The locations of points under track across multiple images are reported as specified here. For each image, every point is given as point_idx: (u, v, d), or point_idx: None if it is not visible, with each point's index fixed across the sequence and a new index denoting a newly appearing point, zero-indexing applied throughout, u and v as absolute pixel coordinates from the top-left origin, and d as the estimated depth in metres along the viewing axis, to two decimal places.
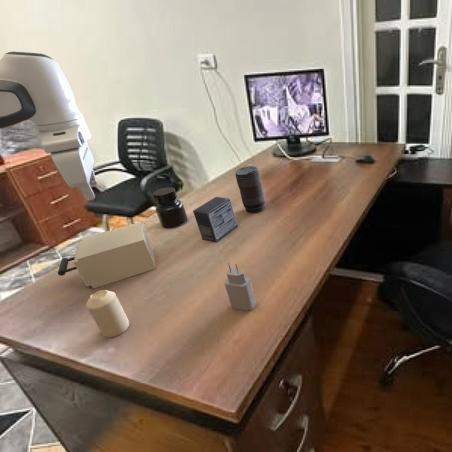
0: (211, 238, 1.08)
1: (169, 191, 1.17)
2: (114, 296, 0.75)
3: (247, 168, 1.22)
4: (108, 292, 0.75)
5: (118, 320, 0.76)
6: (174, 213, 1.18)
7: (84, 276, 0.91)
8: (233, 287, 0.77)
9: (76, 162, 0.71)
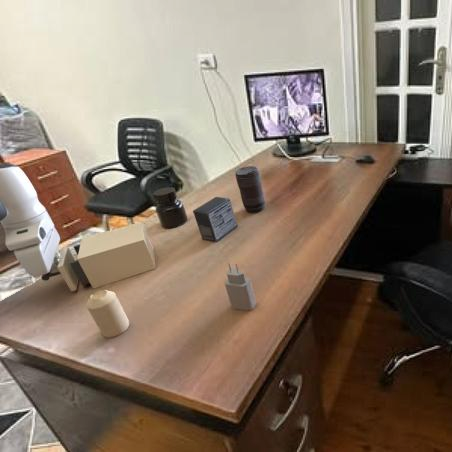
0: (211, 238, 1.08)
1: (169, 191, 1.17)
2: (114, 296, 0.75)
3: (247, 168, 1.22)
4: (108, 292, 0.75)
5: (118, 320, 0.76)
6: (174, 213, 1.18)
7: (68, 281, 0.90)
8: (233, 287, 0.77)
9: (37, 256, 0.81)
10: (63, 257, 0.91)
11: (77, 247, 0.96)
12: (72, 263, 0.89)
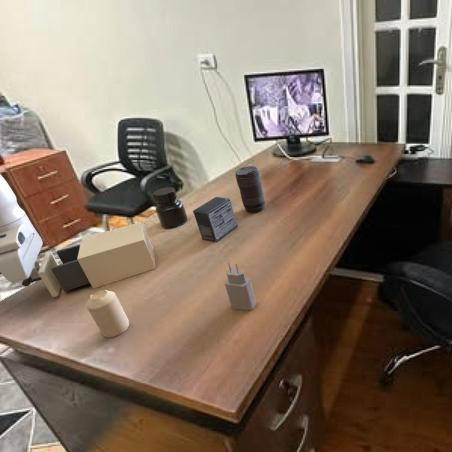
0: (211, 238, 1.08)
1: (169, 191, 1.17)
2: (114, 296, 0.75)
3: (247, 168, 1.22)
4: (108, 292, 0.75)
5: (118, 320, 0.76)
6: (174, 213, 1.18)
7: (49, 287, 0.88)
8: (233, 287, 0.77)
9: (15, 262, 0.79)
10: (44, 262, 0.90)
11: (60, 252, 0.95)
12: (53, 269, 0.88)
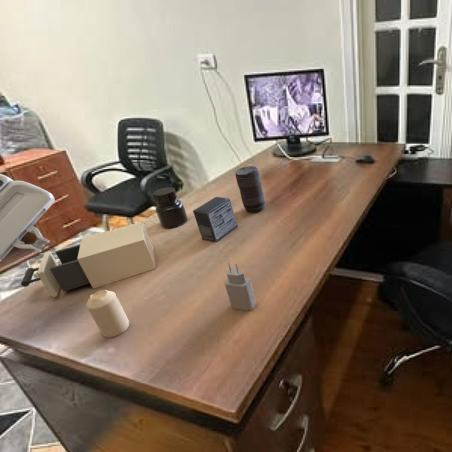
0: (211, 238, 1.08)
1: (169, 191, 1.17)
2: (114, 296, 0.75)
3: (247, 168, 1.22)
4: (108, 292, 0.75)
5: (118, 320, 0.76)
6: (174, 213, 1.18)
7: (49, 287, 0.88)
8: (233, 287, 0.77)
9: None
10: (44, 263, 0.90)
11: (59, 252, 0.95)
12: (52, 269, 0.87)
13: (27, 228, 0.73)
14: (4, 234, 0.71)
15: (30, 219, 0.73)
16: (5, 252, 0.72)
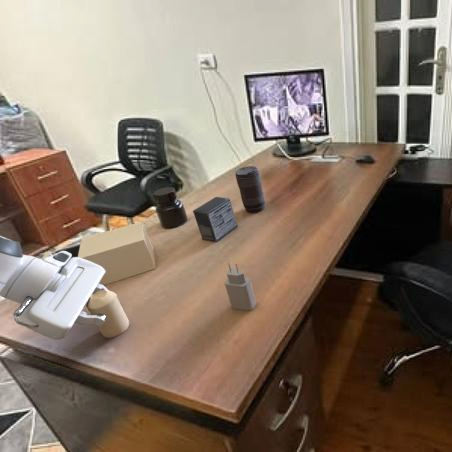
0: (211, 238, 1.08)
1: (169, 191, 1.17)
2: (114, 296, 0.75)
3: (247, 168, 1.22)
4: (108, 292, 0.75)
5: (118, 320, 0.76)
6: (174, 213, 1.18)
7: None
8: (233, 287, 0.77)
9: None
10: None
11: None
12: None
13: (98, 286, 0.78)
14: (78, 296, 0.72)
15: (95, 285, 0.76)
16: None
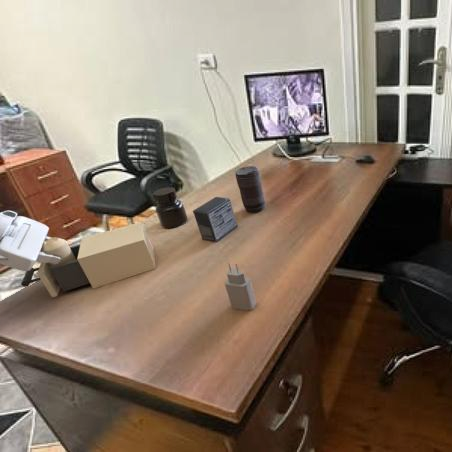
0: (210, 238, 1.08)
1: (169, 191, 1.17)
2: (65, 241, 0.91)
3: (247, 168, 1.22)
4: (59, 238, 0.91)
5: None
6: (174, 213, 1.18)
7: (49, 287, 0.88)
8: (233, 287, 0.77)
9: None
10: (44, 263, 0.90)
11: None
12: (52, 269, 0.88)
13: (46, 237, 0.92)
14: (34, 241, 0.86)
15: (44, 236, 0.91)
16: None
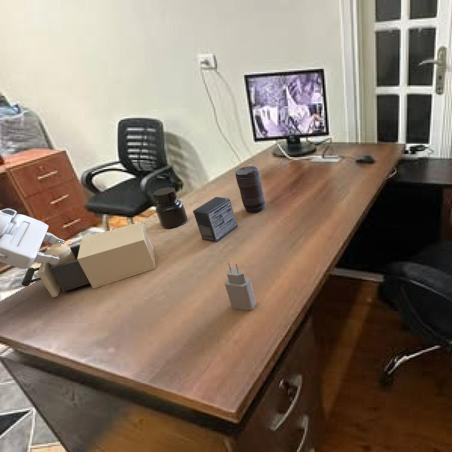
0: (210, 238, 1.08)
1: (169, 191, 1.17)
2: (68, 247, 0.92)
3: (247, 168, 1.22)
4: (62, 244, 0.92)
5: None
6: (174, 213, 1.18)
7: (49, 287, 0.88)
8: (233, 287, 0.77)
9: None
10: None
11: None
12: (53, 269, 0.88)
13: (46, 233, 0.93)
14: (33, 239, 0.86)
15: (44, 234, 0.91)
16: None
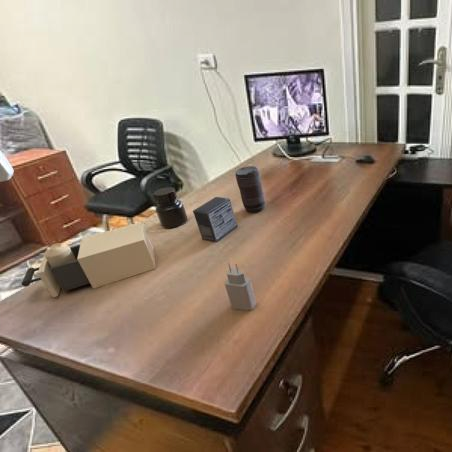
0: (210, 238, 1.08)
1: (169, 191, 1.17)
2: (68, 247, 0.92)
3: (247, 168, 1.22)
4: (62, 244, 0.92)
5: None
6: (174, 213, 1.18)
7: (49, 287, 0.88)
8: (233, 287, 0.77)
9: (0, 152, 0.70)
10: (44, 262, 0.90)
11: None
12: (53, 269, 0.88)
13: None
14: None
15: None
16: None
